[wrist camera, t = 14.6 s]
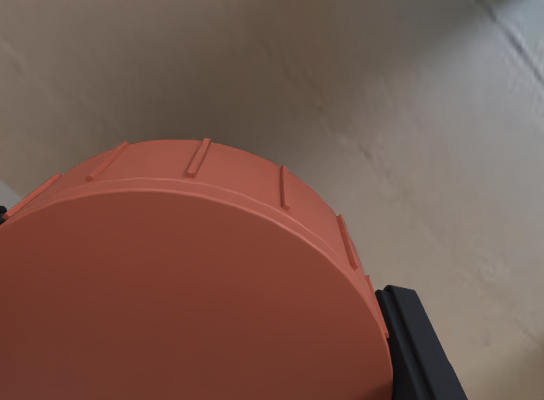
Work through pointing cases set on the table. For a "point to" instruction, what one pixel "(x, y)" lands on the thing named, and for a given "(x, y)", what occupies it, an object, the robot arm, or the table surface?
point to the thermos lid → (185, 284)
